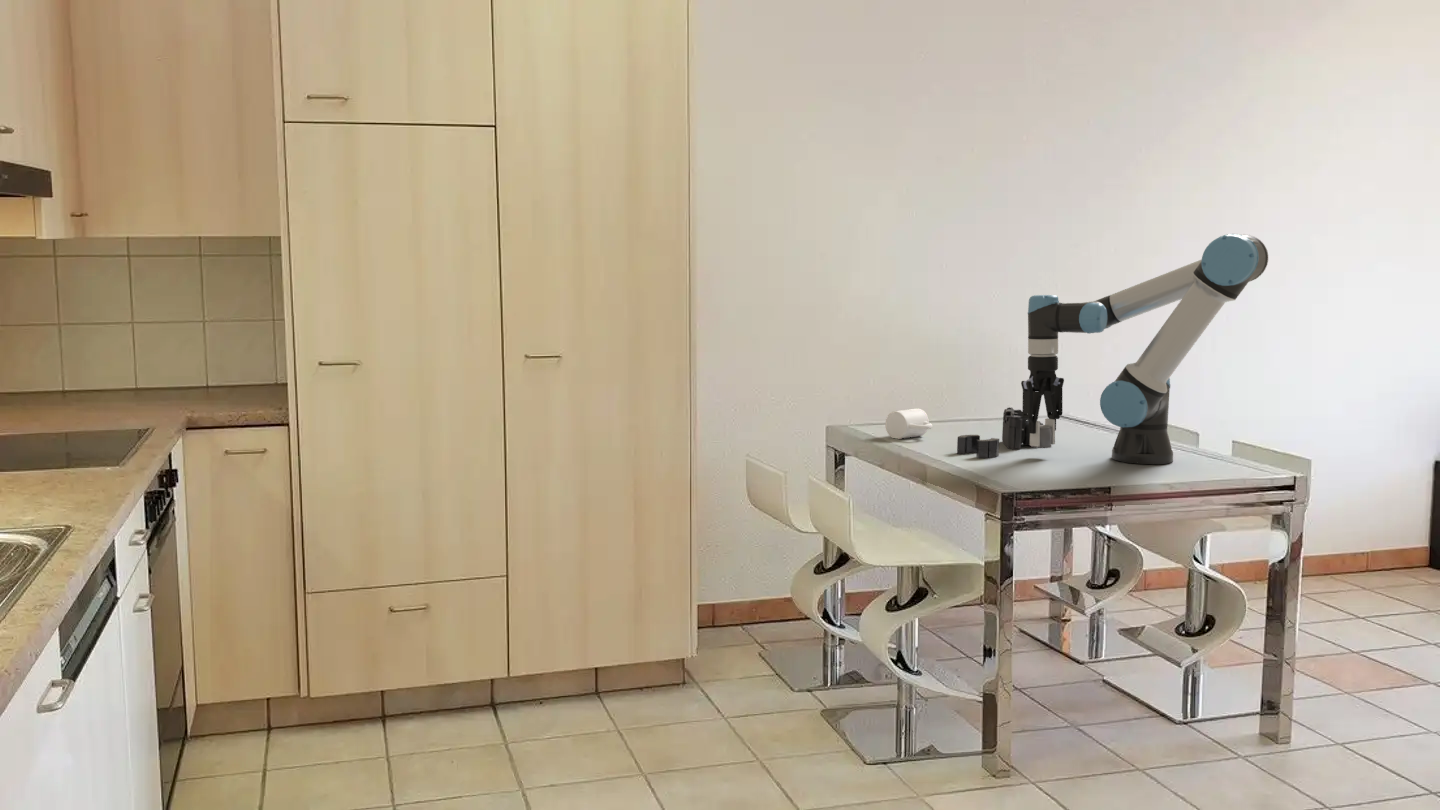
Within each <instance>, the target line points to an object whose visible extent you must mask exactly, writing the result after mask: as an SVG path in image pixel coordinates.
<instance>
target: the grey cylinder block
mask: <svg viewBox="0 0 1440 810" xmlns="http://www.w3.org/2000/svg"><path fill="white" fill-rule="evenodd" d="M1051 437H1052V428H1051V426H1049V425H1045V424H1043V425H1040V446H1039V447H1037V446H1031V447H1032V448H1035V449H1050V448H1052V444H1051Z"/></svg>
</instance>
